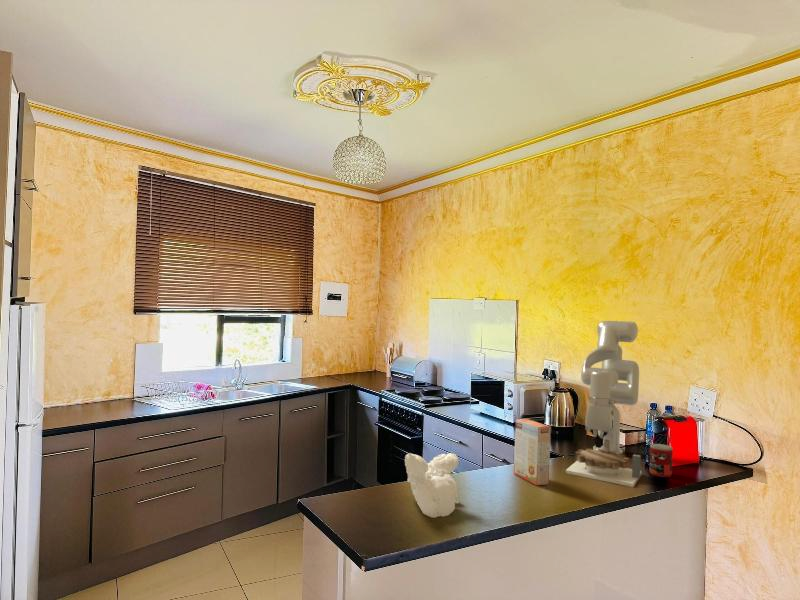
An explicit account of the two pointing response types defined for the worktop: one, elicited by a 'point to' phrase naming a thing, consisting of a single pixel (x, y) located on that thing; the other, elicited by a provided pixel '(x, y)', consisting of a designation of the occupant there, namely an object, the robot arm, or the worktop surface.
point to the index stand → (609, 472)
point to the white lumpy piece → (433, 483)
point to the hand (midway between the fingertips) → (598, 446)
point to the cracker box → (532, 451)
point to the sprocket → (602, 457)
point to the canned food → (661, 460)
